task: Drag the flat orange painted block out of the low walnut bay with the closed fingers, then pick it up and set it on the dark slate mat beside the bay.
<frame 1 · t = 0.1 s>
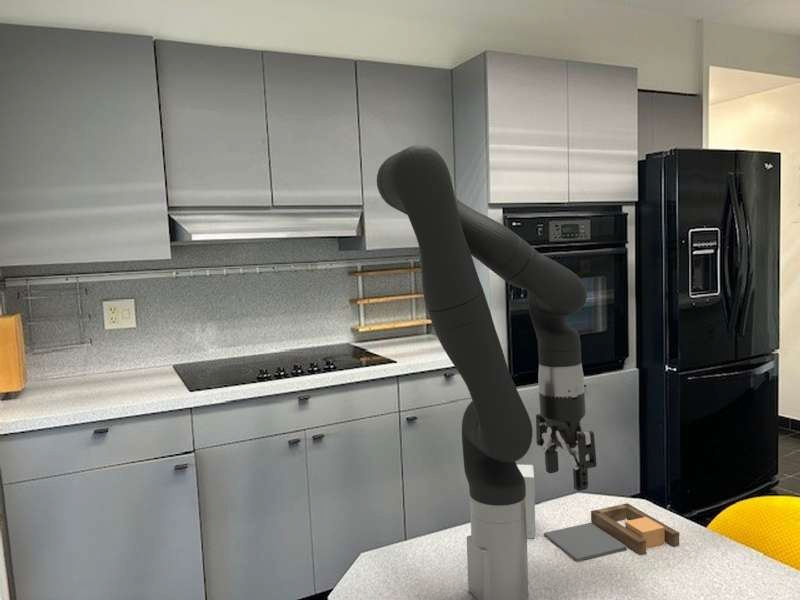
hand: (566, 480, 106), 17 cm above the countertop, tool pointing down, fingers open, 8 cm apart
supplement box: (517, 530, 125), on the countertop
block: (644, 541, 118), on the countertop
cubby: (663, 552, 113), on the countertop
mat: (584, 542, 118), on the countertop
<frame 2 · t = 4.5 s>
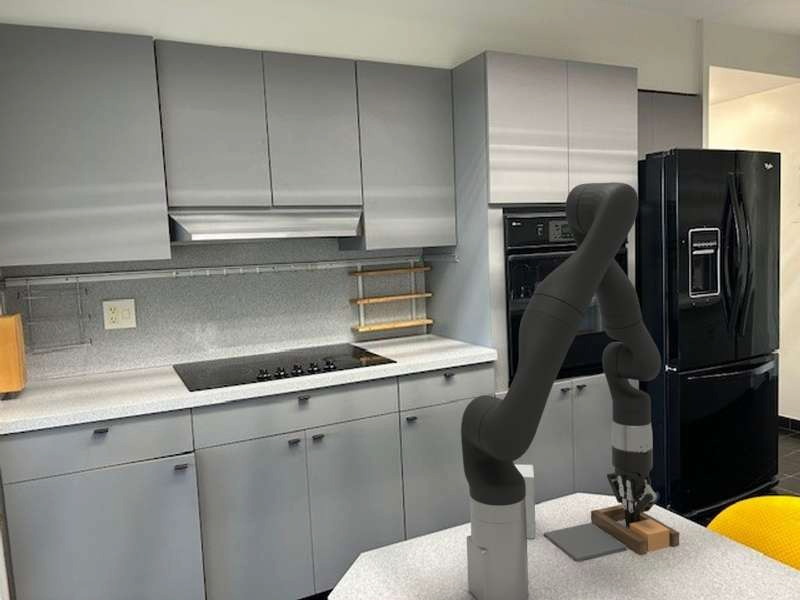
hand: (632, 528, 121), 1 cm above the countertop, tool pointing down, fingers closed
block: (649, 544, 117), on the countertop, touching gripper
everything else where it was.
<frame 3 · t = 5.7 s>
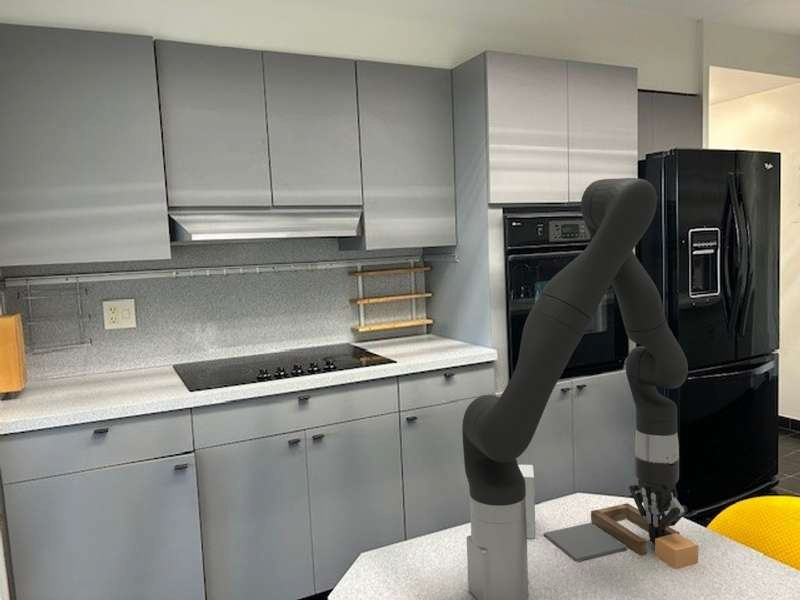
hand: (657, 543, 115), 1 cm above the countertop, tool pointing down, fingers closed
block: (676, 560, 111), on the countertop, touching gripper
everything else where it was.
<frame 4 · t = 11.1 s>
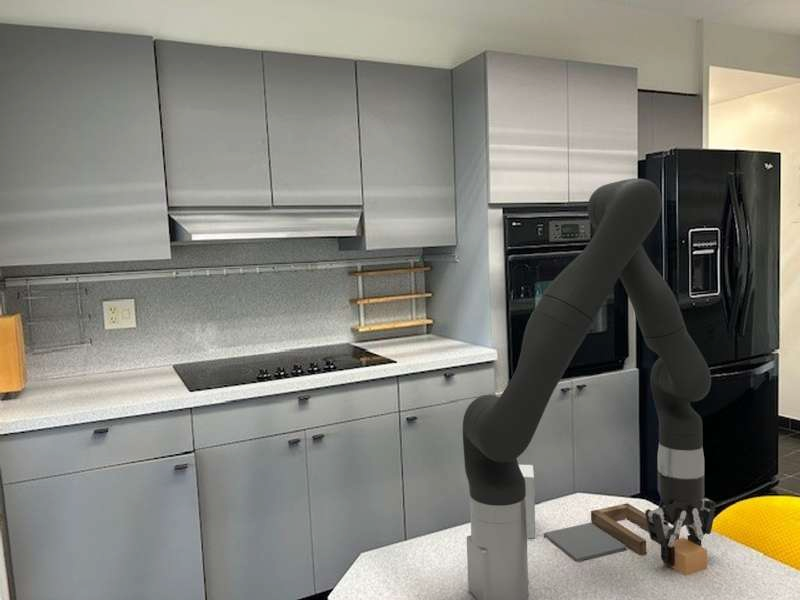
hand: (681, 560, 109), 1 cm above the countertop, tool pointing down, fingers closed on block, 5 cm apart
block: (684, 565, 109), on the countertop, touching gripper
everything else where it was.
when the fingers open (2 cm above the countertop, at t = 17.4 s): block drops 1 cm, resting on mat.
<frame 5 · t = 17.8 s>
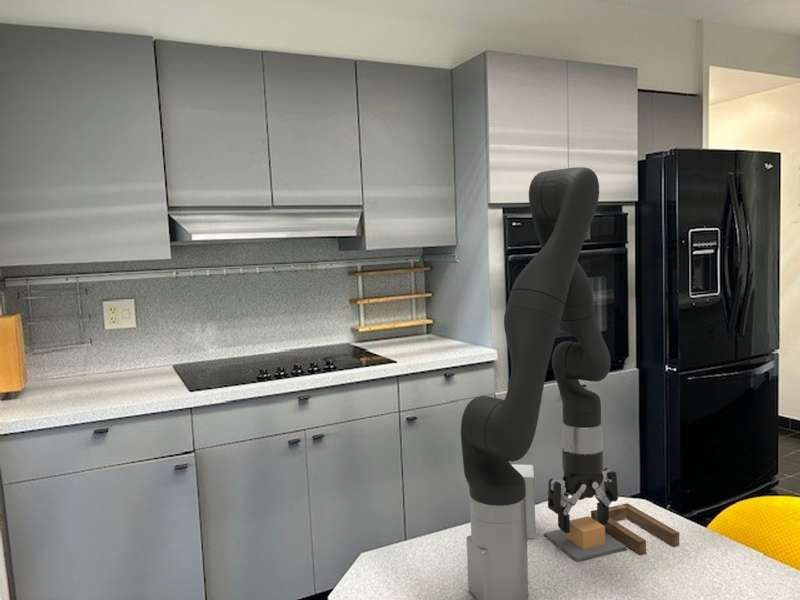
hand: (583, 527, 118), 3 cm above the countertop, tool pointing down, fingers open, 8 cm apart
block: (586, 541, 118), point 1 cm above the countertop, touching mat
everything else where it was.
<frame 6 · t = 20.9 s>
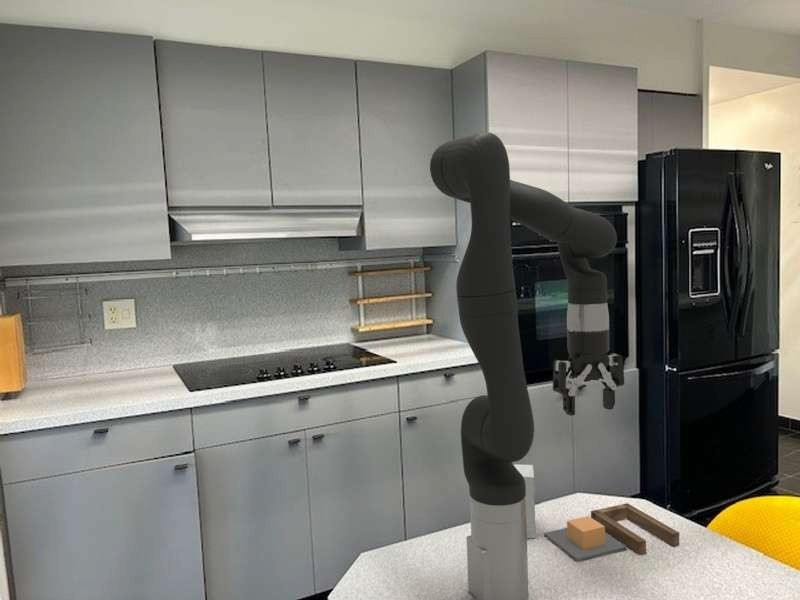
hand: (589, 411, 115), 26 cm above the countertop, tool pointing down, fingers open, 8 cm apart
nothing on the countertop moved.
at the end: block inside the target area on the mat (0.7 cm from its centre), point 0.6 cm above the mat's base; block tilted 0°; the gripper is holding nothing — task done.
